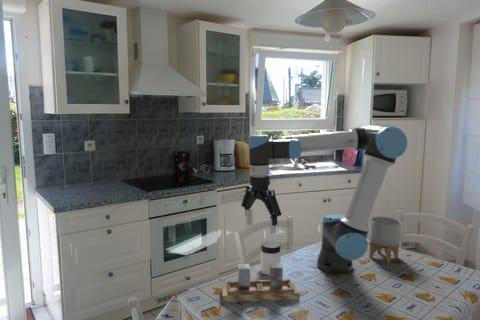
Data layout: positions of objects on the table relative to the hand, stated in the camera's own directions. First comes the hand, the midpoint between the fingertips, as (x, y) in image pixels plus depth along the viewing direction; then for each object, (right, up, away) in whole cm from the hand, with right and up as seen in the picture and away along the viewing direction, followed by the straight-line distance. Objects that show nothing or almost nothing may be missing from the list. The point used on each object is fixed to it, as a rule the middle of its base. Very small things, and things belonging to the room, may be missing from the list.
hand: (260, 229), depth 143 cm
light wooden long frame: (-1, -24, -6) cm, 24 cm away
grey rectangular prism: (-7, -21, -7) cm, 23 cm away
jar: (+5, -21, +14) cm, 26 cm away
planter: (+59, -19, +29) cm, 68 cm away
